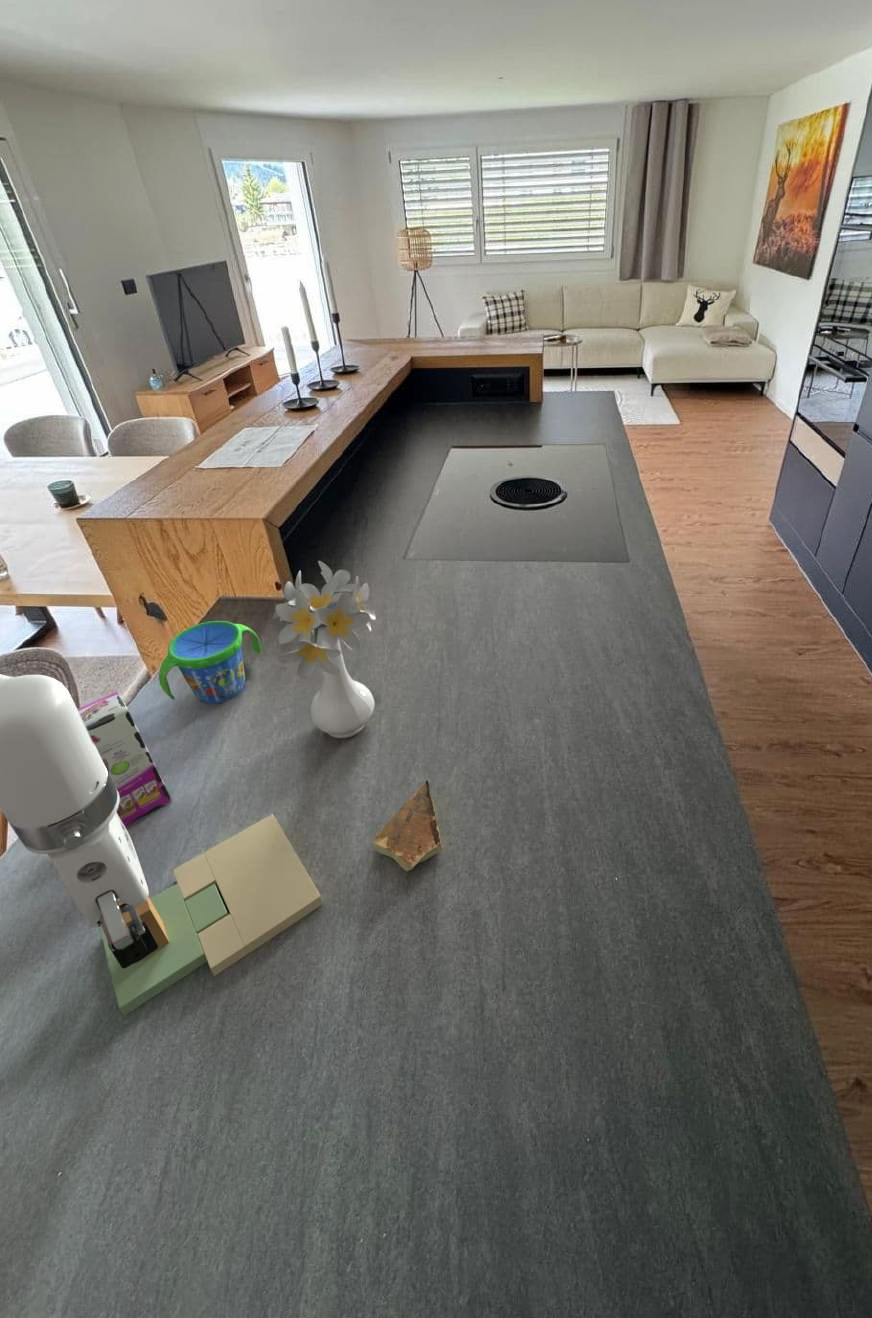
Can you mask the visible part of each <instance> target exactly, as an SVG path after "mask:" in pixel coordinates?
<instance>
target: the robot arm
mask: <svg viewBox="0 0 872 1318" xmlns="http://www.w3.org/2000/svg"><path fill="white" fill-rule="evenodd" d="M77 709H78V707H77V705H76V703H75V701H74V699H73V698H72V695H71V693H70V692H69V690H68V688H67V687H66V686H65V685H64V684H63V683H62V682H61V681H59V680H58V679H55V678H54V677H52V676H48V675H44V674H25V675H18V676H11V675H6V674H1V673H0V812H1V813H2V814H3V816H4V818H5V819H6V821H7V822H8V824H9V825H10V827H11V828H12V830H13V832H14V833H15V834H16V836H17V837H18V840H19V841H20V842H21V844H22V845H23V847H25V849H26V850H27V851H29V852H31V853H34V854H38V855H47V856H48V858H49V860H50V862H51V864H52V865H53V867H54V869H55V872H56V874H57V875H58V876H59V879H61V881H62V883H63V885H64V887H65V888H66V890H67V892H68V893H69V895H70V897H71V899H72V900H73V902H74V903H75V904H76V907H77V908H78V910H79V911H80V913H81V914H82V916H83V917H84V919H85V920H86V922H87V923H88V924H89V925H90V926H91V927H95V928H100V927H102V929H103V931H104V933H105V936H106V938H107V941H108V946H109V948H110V950H111V951H112V953H113V954H114V956H115V958H116V959H117V961H118V962H119V964H120V966H121V967H122V968H127V967H129V966H130V965H132V964H134V963H137V962H139V961H140V960H142V959H143V958H145V957H146V956H147V955H148V954H150V953H152V952H153V951H155V950H156V949H157V948H158V944H157V941H156V939H155V938H154V936H153V934H152V932H151V930H150V928H149V926H148V925H147V923H146V921H144V922H142V921H141V919H140V917H139V914H138V912H137V910H136V907H137V906H139V905H141V904H142V903H144V902H146V900H147V898H148V897H149V896H150V892H149V887H148V884H147V881H146V878H145V874H144V872H143V868H142V865H141V863H140V859H139V857H138V854H137V851H136V849H135V846H134V843H133V840H132V838H131V837H132V836H131V835H130V833H129V831H128V830H127V828H126V826H124V824H123V823H122V821H121V819H120V818H119V816H118V814H117V812H116V811H117V809H118V806H119V800H120V797H119V793H118V791H117V789H116V787H115V785H114V783H113V781H112V779H111V777H110V775H109V773H108V771H107V769H106V767H105V765H104V763H103V761H102V759H101V757H100V755H99V753H98V751H97V748H96V746H95V744H94V742H93V740H92V738H91V736H90V734H89V732H88V730H87V728H86V726H85V724H84V722H83V720H82V718H81V716H80V714H79V712H78V710H77ZM118 899H119V901H121V902H124V904H122V905H120V906H119V903H118V902H119V901H118ZM127 911H129V914H130V916H131V919H132V921H133V924H131V925H129V926H128V927H127V925H126V922H125V920H124V917H123V913H125V912H127Z"/></svg>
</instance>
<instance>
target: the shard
mask: <svg viewBox="0 0 872 1318" xmlns="http://www.w3.org/2000/svg"><path fill="white" fill-rule="evenodd" d="M430 788H431V787H430V782H429V779H426V781H425V782H424V783H423V784H422V785H421V786H420V788H418V790H417V791H416V792H415V794H414V795H412V797H410V799H409V800H408V801H406V802H405V803H404V804H403V805H402V806H401V807H400V808H399V809H398V810H397V812H395V813H394V814H393V815H392V817H391V818H390V819H389V820H388V821H387V822H386V823H385V825H384V826H382V828H381V831H380V832H379V833H377V835H376V836H375V837H374V838H373V841H372V846H373V849H374V851H375V852H378V853H379V854H382V855H384V856H386V857H389V858H391V859H393V860H394V861H395V862H396V863H397V864H398V865H399V866H400V867H401V868H402V869H403V870H404V871H405V872H410V871H411V870H413V869H414V868H415V867H416V866H417V864H419V863H422V862H424V861H427V860H428V859H429V858H431V857H434V856H435V855H436V854H438V853H440V852H441V851H442V850H443V848H444V846H443V844H442V840H441V835H440V830H439V826H438V825H439V824H438V821H437V817H436V816H437V815H436V810H435V805H434V800H433V797H432V795H431V789H430Z"/></svg>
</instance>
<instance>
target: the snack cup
mask: <svg viewBox="0 0 872 1318" xmlns="http://www.w3.org/2000/svg"><path fill="white" fill-rule="evenodd" d="M245 632H247V633H249V634H250V635H251V636H250V637H251V647H252V650H253V651H254V652H255V653H257V654H261V653H262V645H261V641H260V638H259V636H258V635H257V633H256V632H255V631H254V630H252V629H251V628H250V627H248V626H246V625H244V624H240V623H233V622H231V621H226V620H212V621H205V622H201V623H198V624H195V625H192V626H189V627H187V628H185V629H183V630H182V631H181V632H179V633H177V634H176V635H175V636H174V637H173V638H172V639H171V641H170V642H169V644H168V647H167V655H166V656H165V658H164V659H163V661H162V663H161V665H160V667H159V671H158V680H159V685H160V687H161V689H162V690H163V691H164V693H165V694H166V695H167V696H168V697H169V698H170V699H171V700H175V696H174V694H172V692H171V691H172V690H171V688H170V684H169V681H168V678H167V675H168V674H169V672H170V671H171V669H172V668H173V667H177V668H178V669H179V671H180V673H181V674H182V676H183V678H184V680H185V682H186V683H187V684H188V686H189V688H190V689H191V691H192V692H193V694H194V696H195V697H196V699H197V700H198V701H199V702H202V703H206V704H223V703H224V702H226V701H229V700H231V699H233V698H235V696H236V695H237V694H239V693H241V692H242V691H244V686H245V683H246V675H245V667H244V666H245V665H244V659H243V652H242V643H243V633H245Z"/></svg>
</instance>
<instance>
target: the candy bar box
mask: <svg viewBox="0 0 872 1318" xmlns="http://www.w3.org/2000/svg"><path fill="white" fill-rule="evenodd" d="M77 710H78V712H79V714H80V716H81V718H82V720H83V722H84V724H85V726H86V728H87V730H88V732H89V734H90V736H91V738H92V740H93V742H94V744H95V746H96V748H97V751H98V753H99V755H100V757H101V759H102V761H103V763H104V765H105V767H106V769H107V771H108V773H109V775H110V777H111V779H112V781H113V783H114V785H115V787H116V789H117V791H118V793H119V797H120V800H119V806H118V809H117V811H116V812H117V814H118V816H119V818H120V819H121V821H122V823H123V824H124V826H125V827H126V826H128V825H130V824H131V823H134V822H136V821H137V820H139V819H141V818H143V817H144V816H147V814H148V815H149V813H151V812H153V811H155V810H157V809H158V808H161V807H163V806H164V805H166V804H167V803H168V804H169V802H171V801H172V798H171V797H172V796H171V795H170V793H169V791H168V788H167V786H166V784H165V782H164V780H163V777H162V776H161V773H160V771H159V770H158V768H157V765H156V763H155V762H154V760H153V757H152V755H151V753H150V751H149V749H148V747H147V745H146V743H145V741H144V739H143V737H142V735H141V733H140V731H139V729H138V727H137V725H136V723H135V721H134V719H133V717H132V715H131V713H130V711H129V709H128V707H127V705H126V703H125V702H124V700H123V698H122V696H121V694H120V693H119V691H118V690H117V691H115V692H112V693H110V694H108V695H106V696H104V697H101V698H99V699H97V700H93V701H92V702H89V703H88V704H84V705H83V706H80V707H77Z"/></svg>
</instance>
